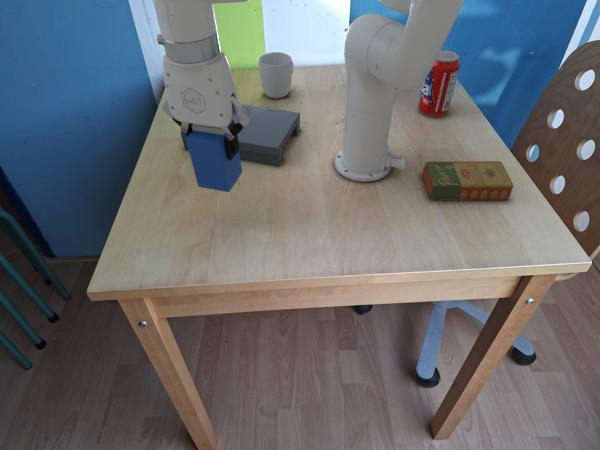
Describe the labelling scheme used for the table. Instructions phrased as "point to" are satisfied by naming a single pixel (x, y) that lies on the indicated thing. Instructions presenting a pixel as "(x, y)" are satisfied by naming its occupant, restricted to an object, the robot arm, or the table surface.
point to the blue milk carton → (212, 158)
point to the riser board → (264, 134)
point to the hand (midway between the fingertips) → (214, 151)
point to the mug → (276, 73)
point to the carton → (467, 180)
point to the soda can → (440, 84)
